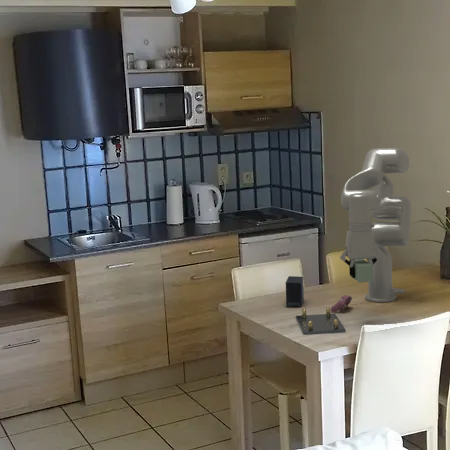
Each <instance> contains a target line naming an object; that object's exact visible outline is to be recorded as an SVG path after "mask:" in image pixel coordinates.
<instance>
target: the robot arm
mask: <svg viewBox="0 0 450 450" xmlns="http://www.w3.org/2000/svg"><path fill="white" fill-rule="evenodd" d="M409 167H410V157H409V155H408V153H407V152H405V150H403V149H401V148H399V147H398V148H397V147H381V148H380V147H379V148H372V149H370V150H368V152H367V153H366V155H365V158H364V161H363V164H362V168H361V171H359V172H358V173H356V174H354V175H353V176H351V177H350V178H349V179H348V180H347V181H346V182H345V184H344V185H343V188H342V191H341V195H340V205H341V208H343V209H344V210H345V211H348V220H349V221H348V226H349V227H348V228H349V229H348V230H347V231H346V235H345V236H346V237H345V250H344V251H343V252H342V253H341V255H340V257H339V258H340V260H342V262H343V263H345V264H346V265H347V266H348V268H349V276H350V275H351V276H350V277H351V278H352V279H354V278H355V268H354V261H355V259H364V260H366V261H367V262H369V263H370V264H372V265H373V281H371V282H367V283H368V287H367V288H368V289H367V291H368V292H367V294H365V295H364V299H365V301H369V302H373V303H389V302H390V303H391V302H393V301H395V300H397V295H398V294H400V295H402V294H405V288H400V287H399V288H394V286H393V258H392V254H391V252H390V251H389V249H388V248H387V247H405V246H407V245H408V244H409V242H410V238H411V237H410V236H411V219H412V204H411V201H410V199H409V198H408V197H406V196H394V184H393V181H391V179H390V178H389V177H388V176H387V175H386V174H404V173H407V171H408V170H409ZM370 188H371V189H370ZM371 217H372V219H374V220H378V221H375V222H373V221H372V222H371ZM379 220H381V221H379ZM382 220H383V221H382ZM390 221H391V222H390ZM393 221H398V222H393ZM346 257H347V258H346Z"/></svg>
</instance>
